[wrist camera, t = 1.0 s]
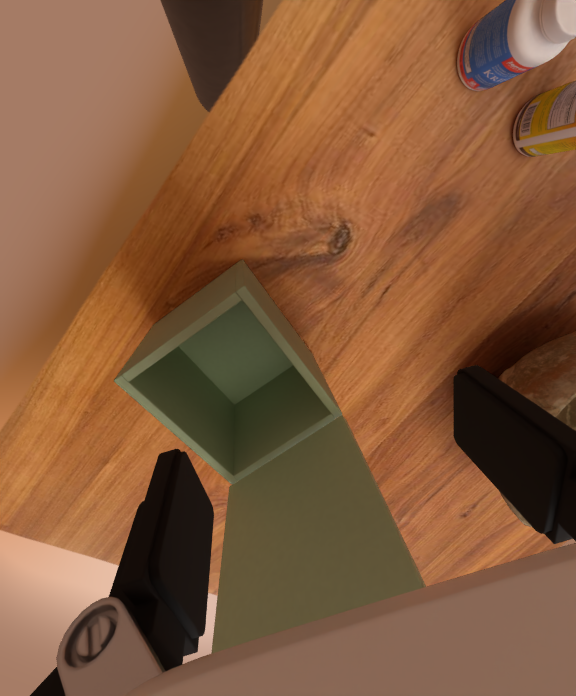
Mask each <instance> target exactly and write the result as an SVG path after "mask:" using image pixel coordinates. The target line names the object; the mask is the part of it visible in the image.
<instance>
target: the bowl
mask: <svg viewBox="0 0 576 696" xmlns="http://www.w3.org/2000/svg"><path fill="white" fill-rule="evenodd" d="M498 379H499V380H501V381H502V382H504V383H505V384H507V385H508V386H510V387H511V388H513V389H514V390H516V391H517V392H519V393H520V394H522V395H523V396H525V397H526V398H528V399H529V400H531V401H532V402H534V403H535V404H537V405H538V406H540V407H541V408H542V409H544V410H545V411H547V412H548V413H550V414H551V415H553V416H554V417H556V418H557V419H559V420H560V421H562V422H563V423H565V424H566V425H568V426H569V427H571V428H572V429H574V430H575V431H576V332H574V333H570V334H568V335H565V336H562V337H560V338H557V339H555V340H552V341H550V342H547V343H545V344H544V345H542V346H540V347H538V348H536V349H534V350H532V351H531V352H529V353H528V354H526V355H525V356H523V357H522V358H521V359H520V360H518V361H517V362H516V363H515V364H514V365H513V366H512V367H511V368H509V369H506V370H505V371H504V372H503V373H502V374H501V375H500V377H499V378H498ZM500 493H501V492H500ZM501 495H502V497H503V499H504V500H505V502H506V503H507V505H508V506H509V508H510V509H511V510H512V512H513V513H514V514H515V515H516V516H517V517H518V518H519V520H520V521H521V522H522V523H523V524H524V525H527V526H529V527H531V525H530V524H529V523H528V522H527V521H526V519H525V518H524V517H523V516H522V515H521V514H520V513H519V512H518V511H517V510H516V508H515V507H514V506H513V505H512V504H511V503H510V502H509V501H508V500H507V499H506V497H505V496H504V495H503V494H502V493H501ZM543 534H544V533H543Z"/></svg>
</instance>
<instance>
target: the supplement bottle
mask: <svg viewBox="0 0 576 696" xmlns="http://www.w3.org/2000/svg"><path fill="white" fill-rule="evenodd" d="M513 140H514V144H515V147H516V148H517V150H518V151H519V152H520V153H521V154H523V155H525V156H528V157H535V156H541V155H547V154H552V153H558V152H564V151H569V150H575V149H576V81H573V82H570V83H568V84H565V85H563V86H560V87H557V88H555V89H552V90H549V91H547V92H544V93H541V94H539V95H537V96H535V97H534V98H532V99H531V100H530V101H529V102H527V103H526V104H525V106H524V107H523V108H522V109H521V111H520V113H519V114H518V116H517V118H516V121H515V124H514V129H513Z"/></svg>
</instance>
